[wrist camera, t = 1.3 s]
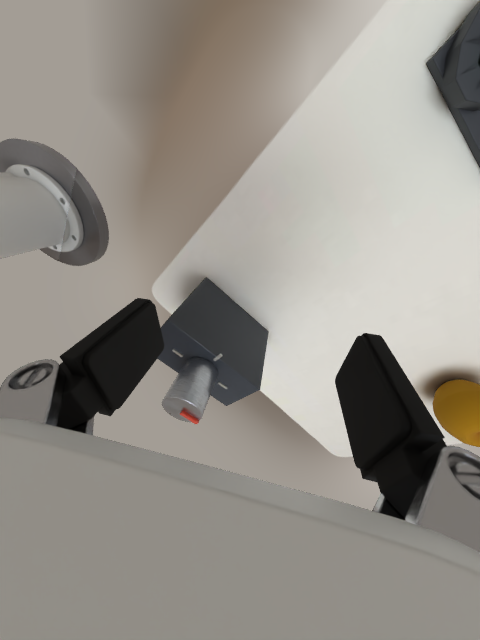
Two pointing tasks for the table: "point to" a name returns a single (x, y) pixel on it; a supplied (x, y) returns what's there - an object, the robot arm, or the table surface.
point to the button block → (462, 77)
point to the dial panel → (217, 341)
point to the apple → (459, 410)
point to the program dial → (191, 390)
